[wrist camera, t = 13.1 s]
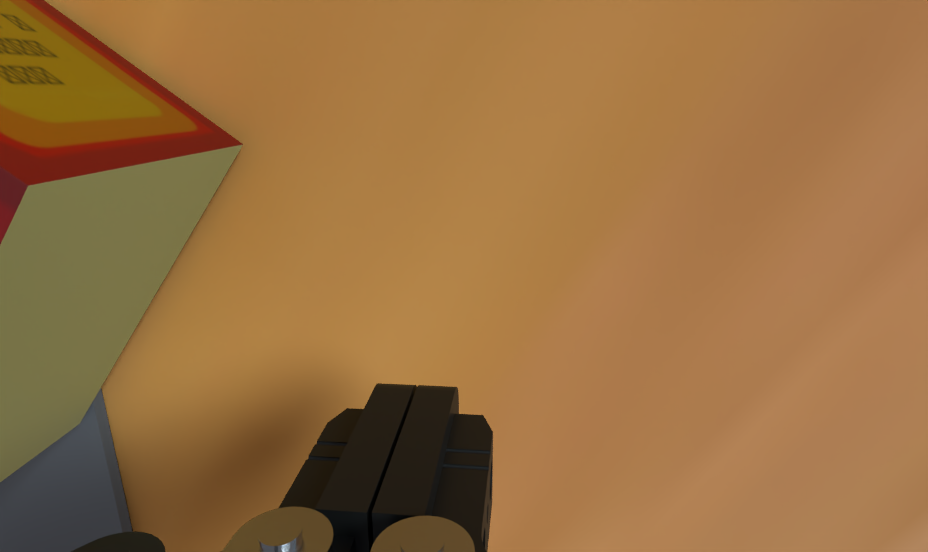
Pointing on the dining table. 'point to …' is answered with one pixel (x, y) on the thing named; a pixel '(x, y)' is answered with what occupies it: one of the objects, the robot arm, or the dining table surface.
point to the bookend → (66, 492)
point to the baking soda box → (84, 214)
